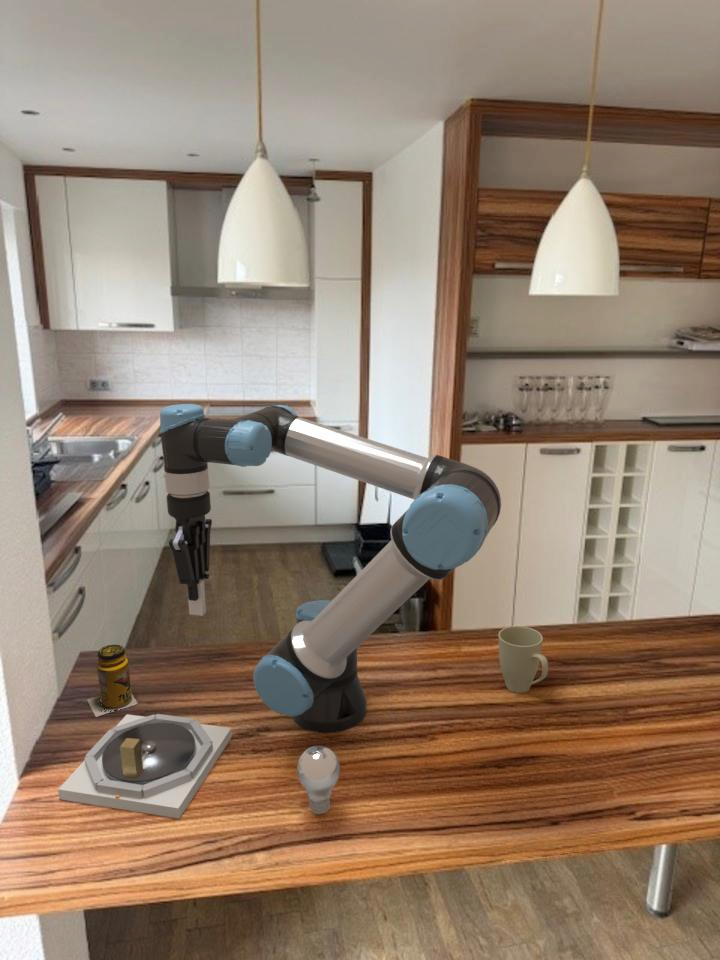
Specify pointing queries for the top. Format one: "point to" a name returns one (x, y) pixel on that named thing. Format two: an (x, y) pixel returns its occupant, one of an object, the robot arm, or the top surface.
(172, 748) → the dial
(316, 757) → the light bulb
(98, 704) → the condiment
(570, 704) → the top surface
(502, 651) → the mug
